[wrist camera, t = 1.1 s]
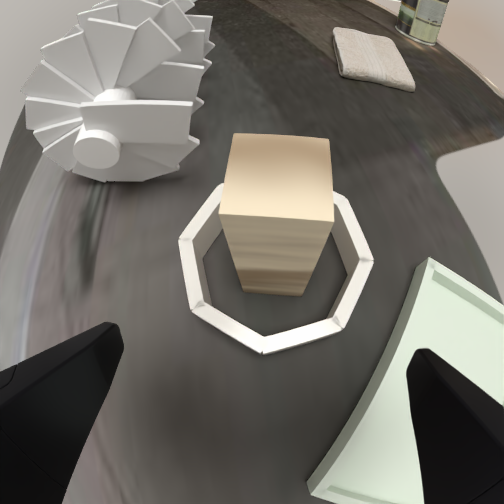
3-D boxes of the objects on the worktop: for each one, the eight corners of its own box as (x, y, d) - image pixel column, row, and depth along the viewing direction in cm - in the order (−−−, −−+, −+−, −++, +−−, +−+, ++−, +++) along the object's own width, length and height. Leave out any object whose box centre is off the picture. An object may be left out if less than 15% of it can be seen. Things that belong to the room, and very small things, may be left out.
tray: (441, 514, 12) (453, 523, 10) (306, 482, 16) (310, 494, 14) (520, 334, 18) (535, 329, 16) (415, 267, 22) (429, 256, 20)
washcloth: (388, 46, 39) (391, 34, 36) (415, 97, 32) (421, 82, 29) (329, 35, 40) (330, 22, 37) (339, 81, 33) (342, 64, 30)
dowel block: (301, 296, 22) (334, 221, 11) (243, 292, 22) (218, 213, 11) (303, 243, 23) (328, 139, 12) (249, 239, 24) (234, 133, 13)
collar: (307, 379, 19) (315, 382, 16) (164, 294, 22) (148, 282, 19) (375, 239, 23) (389, 220, 20) (247, 177, 26) (244, 152, 23)
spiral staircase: (113, 223, 30) (146, 87, 39) (246, 166, 22) (239, 33, 31) (-23, 159, 15) (68, 27, 23) (64, 8, 7) (161, -54, 16)
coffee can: (388, 28, 42) (398, -21, 29) (403, 24, 45) (413, -19, 32) (428, 49, 39) (443, -1, 26) (439, 43, 41) (453, -1, 28)
